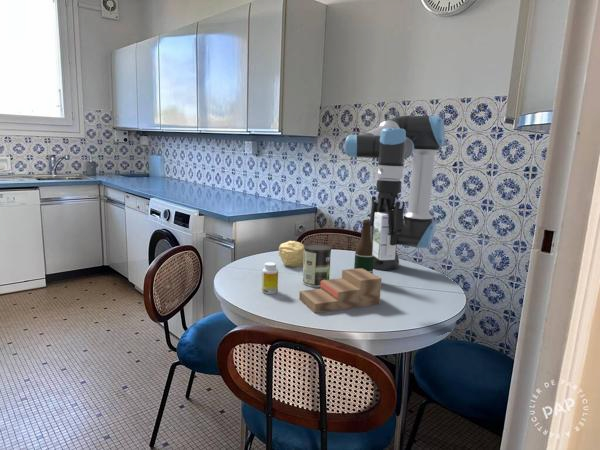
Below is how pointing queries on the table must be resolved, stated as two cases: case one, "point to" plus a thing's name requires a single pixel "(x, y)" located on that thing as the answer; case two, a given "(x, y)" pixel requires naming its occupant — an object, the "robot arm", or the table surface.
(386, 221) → the syrup box
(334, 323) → the table surface
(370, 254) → the beer bottle
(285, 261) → the sculpture
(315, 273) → the coffee can
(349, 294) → the stepped stand
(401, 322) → the table surface
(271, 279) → the supplement bottle
